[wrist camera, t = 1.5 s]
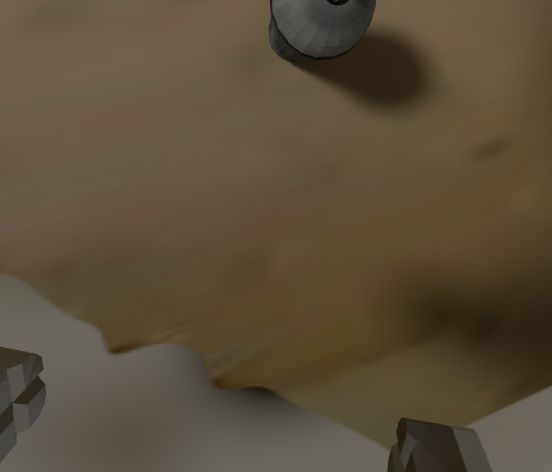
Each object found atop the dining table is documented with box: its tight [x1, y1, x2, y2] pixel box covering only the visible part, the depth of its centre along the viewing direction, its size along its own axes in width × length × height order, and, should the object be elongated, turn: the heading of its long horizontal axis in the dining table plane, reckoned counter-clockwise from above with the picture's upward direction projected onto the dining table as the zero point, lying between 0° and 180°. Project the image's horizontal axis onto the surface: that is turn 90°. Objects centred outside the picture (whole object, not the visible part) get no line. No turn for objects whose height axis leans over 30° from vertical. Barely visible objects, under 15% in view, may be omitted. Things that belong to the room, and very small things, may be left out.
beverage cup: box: [269, 0, 376, 61], centre depth 31 cm, size 7×7×20 cm
